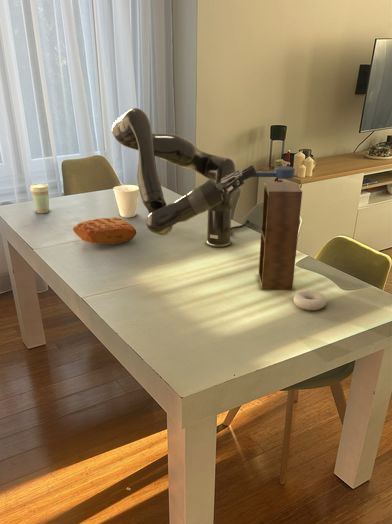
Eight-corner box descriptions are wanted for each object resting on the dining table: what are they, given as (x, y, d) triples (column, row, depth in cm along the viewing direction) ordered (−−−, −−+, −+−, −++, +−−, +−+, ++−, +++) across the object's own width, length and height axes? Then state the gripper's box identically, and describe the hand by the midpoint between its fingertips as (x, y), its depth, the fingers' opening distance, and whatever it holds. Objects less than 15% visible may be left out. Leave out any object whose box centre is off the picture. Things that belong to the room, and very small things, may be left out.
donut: (287, 307, 166) (318, 315, 162) (288, 297, 165) (319, 304, 160) (300, 296, 174) (330, 302, 169) (301, 286, 172) (331, 292, 167)
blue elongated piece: (238, 178, 163) (238, 169, 161) (236, 173, 168) (237, 165, 166) (295, 178, 163) (296, 170, 161) (292, 174, 168) (293, 165, 166)
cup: (127, 210, 256) (125, 183, 250) (146, 214, 250) (145, 187, 244) (109, 216, 248) (107, 188, 242) (129, 220, 242) (127, 192, 236)
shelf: (261, 289, 178) (268, 191, 162) (258, 275, 188) (264, 181, 172) (292, 289, 178) (302, 191, 162) (287, 275, 188) (296, 182, 172)
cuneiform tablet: (89, 253, 206) (87, 232, 202) (72, 240, 219) (69, 221, 215) (140, 242, 217) (139, 223, 213) (121, 231, 229) (120, 212, 225)
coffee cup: (49, 214, 250) (46, 187, 244) (31, 214, 250) (27, 187, 244) (54, 209, 257) (50, 183, 251) (36, 208, 258) (32, 183, 251)
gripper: (198, 192, 161) (250, 162, 156) (198, 181, 173) (247, 153, 168) (211, 214, 164) (262, 185, 160) (210, 201, 176) (257, 174, 172)
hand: (254, 169), depth 164 cm, fingers closed on blue elongated piece, 2 cm apart
